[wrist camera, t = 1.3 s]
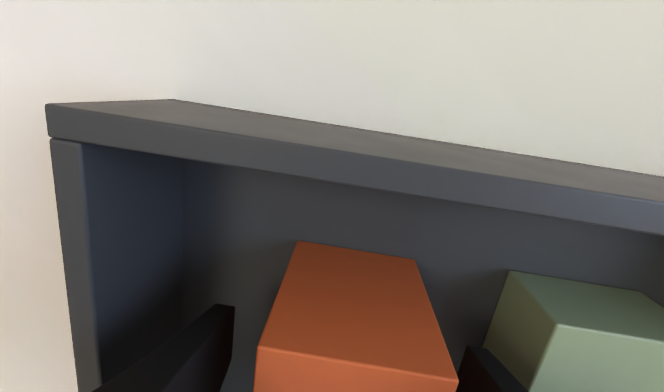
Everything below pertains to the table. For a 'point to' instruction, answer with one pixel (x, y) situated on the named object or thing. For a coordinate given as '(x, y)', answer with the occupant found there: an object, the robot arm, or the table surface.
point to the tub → (313, 222)
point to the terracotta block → (352, 327)
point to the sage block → (577, 336)
